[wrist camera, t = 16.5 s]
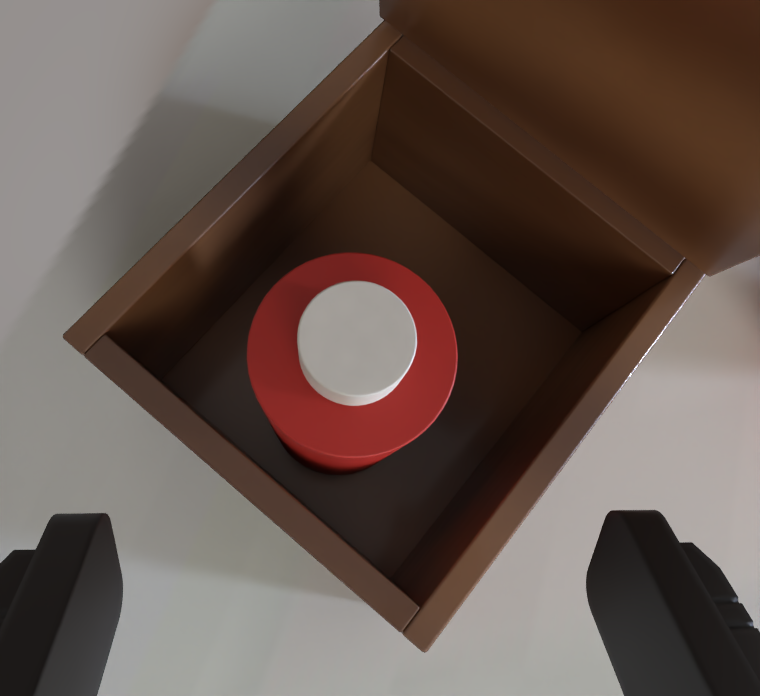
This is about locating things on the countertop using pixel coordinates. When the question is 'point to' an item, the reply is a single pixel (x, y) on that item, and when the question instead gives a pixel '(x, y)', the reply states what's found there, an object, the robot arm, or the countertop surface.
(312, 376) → the sauce bottle
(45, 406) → the countertop surface
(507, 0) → the lid
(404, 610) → the chest
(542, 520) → the countertop surface
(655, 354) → the countertop surface
